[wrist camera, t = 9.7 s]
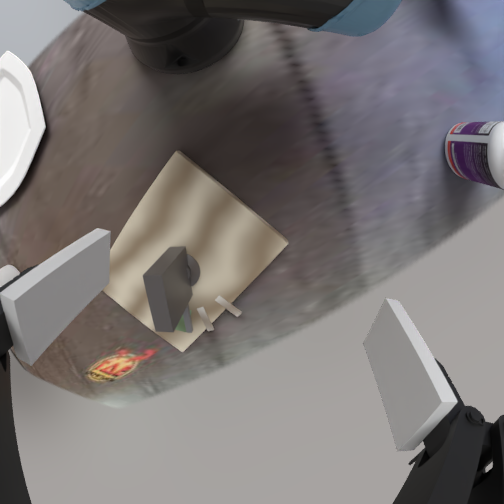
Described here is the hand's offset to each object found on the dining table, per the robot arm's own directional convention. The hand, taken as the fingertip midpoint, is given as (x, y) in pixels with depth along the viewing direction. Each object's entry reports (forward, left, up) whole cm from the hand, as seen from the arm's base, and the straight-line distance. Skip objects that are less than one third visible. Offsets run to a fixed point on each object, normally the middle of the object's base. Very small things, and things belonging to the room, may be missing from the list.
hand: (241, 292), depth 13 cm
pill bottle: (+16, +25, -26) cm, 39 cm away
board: (-3, -14, -25) cm, 29 cm away
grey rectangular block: (0, -16, -23) cm, 28 cm away
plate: (-46, -19, -26) cm, 56 cm away
